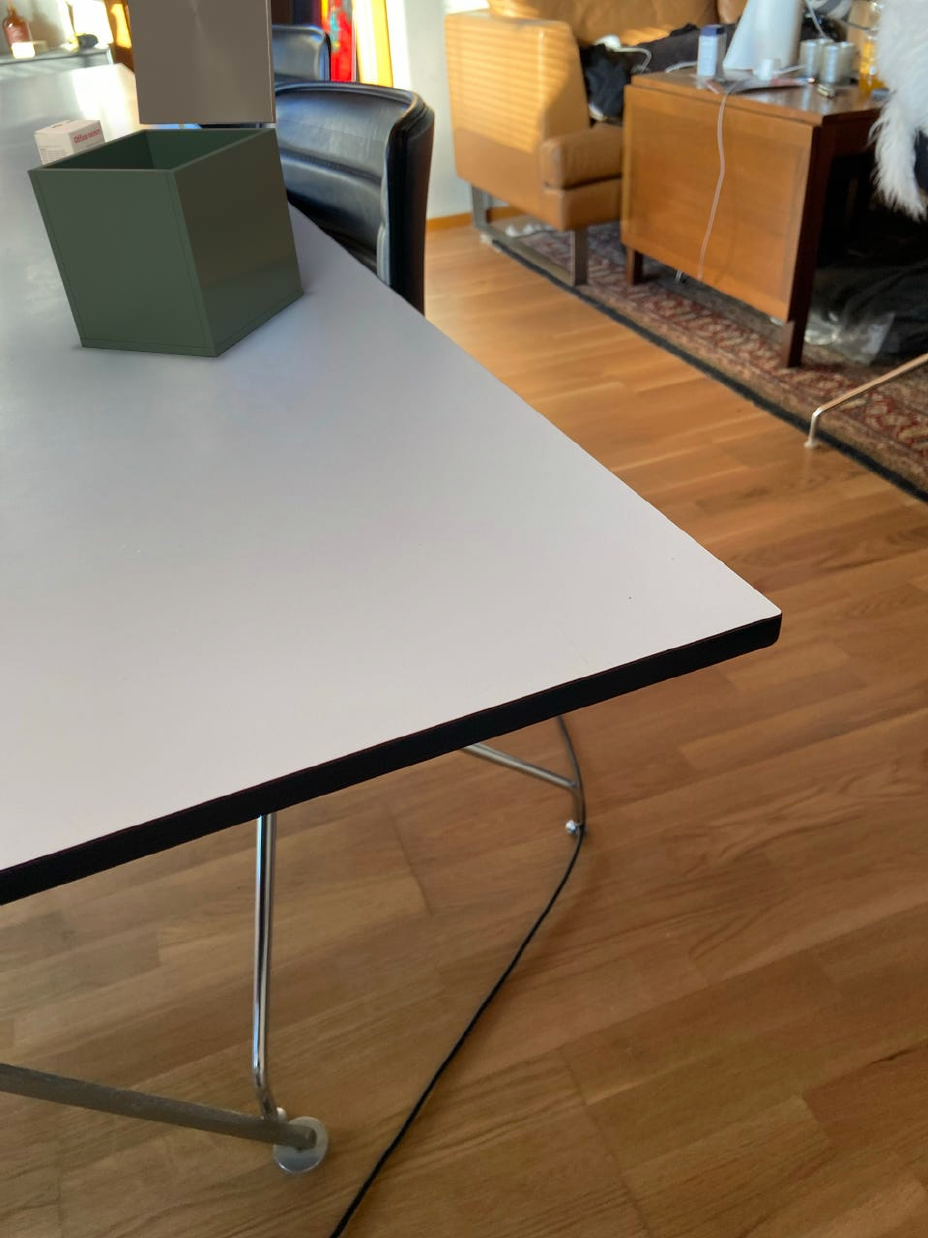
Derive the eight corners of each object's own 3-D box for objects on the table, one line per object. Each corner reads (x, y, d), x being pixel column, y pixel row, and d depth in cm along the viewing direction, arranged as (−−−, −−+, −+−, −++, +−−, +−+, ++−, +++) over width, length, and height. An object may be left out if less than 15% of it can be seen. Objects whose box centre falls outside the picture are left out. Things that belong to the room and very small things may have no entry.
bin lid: (261, -110, 83) (265, -108, 83) (118, -96, 87) (123, -94, 88) (272, 122, 89) (276, 123, 90) (139, 123, 94) (143, 124, 95)
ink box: (96, 232, 125) (67, 131, 118) (61, 233, 125) (30, 132, 118) (126, 214, 131) (101, 116, 124) (93, 215, 132) (65, 118, 125)
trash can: (216, 357, 87) (173, 171, 78) (82, 346, 91) (26, 170, 82) (303, 294, 99) (275, 127, 90) (181, 287, 104) (142, 128, 95)
